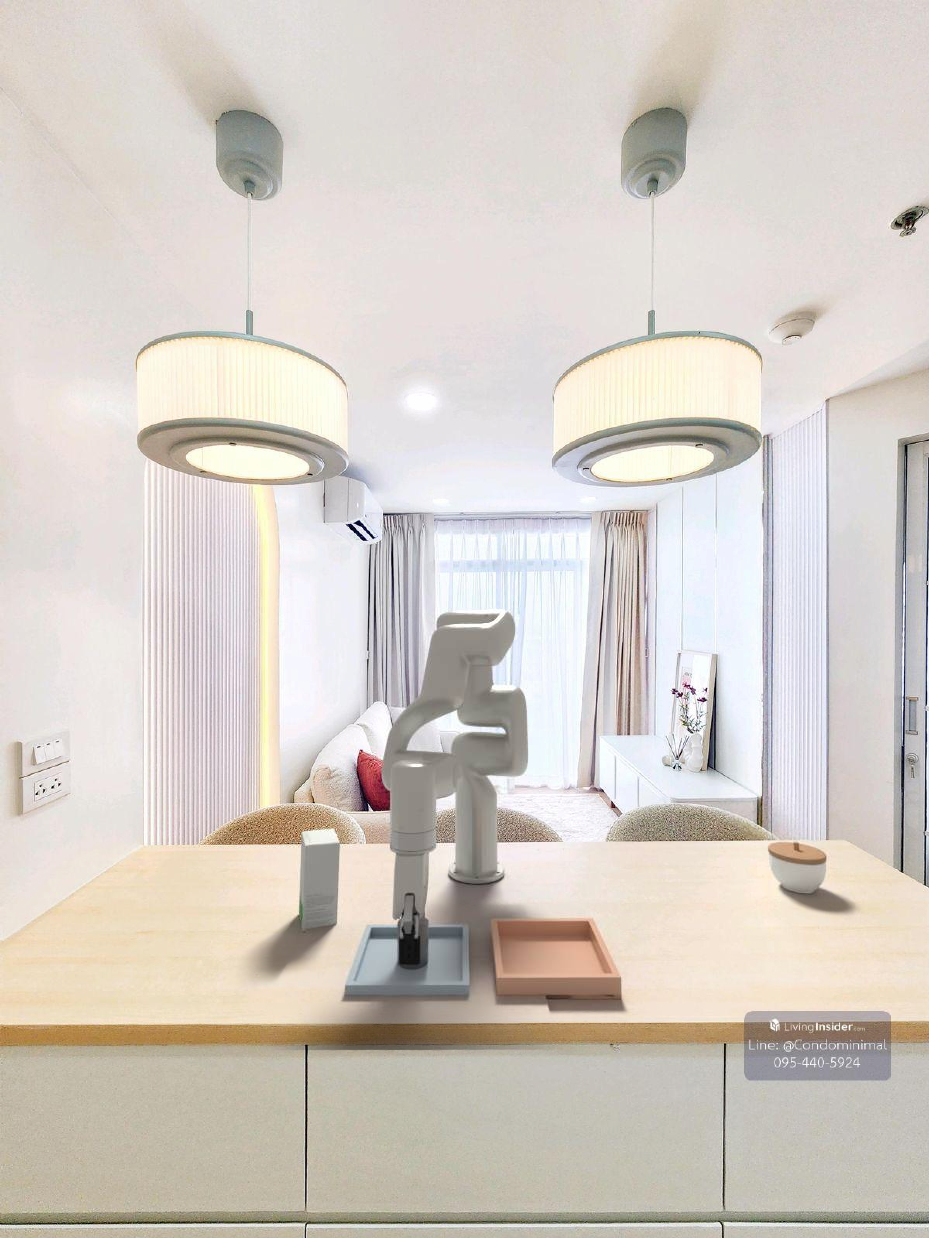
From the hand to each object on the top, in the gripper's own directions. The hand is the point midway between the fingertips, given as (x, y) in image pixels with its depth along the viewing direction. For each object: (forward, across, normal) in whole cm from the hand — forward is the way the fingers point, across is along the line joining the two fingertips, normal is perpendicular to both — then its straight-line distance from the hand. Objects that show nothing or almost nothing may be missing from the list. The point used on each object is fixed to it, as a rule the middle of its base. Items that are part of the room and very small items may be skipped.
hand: (412, 946), depth 90 cm
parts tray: (+3, 0, 0) cm, 3 cm away
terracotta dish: (+3, 0, +22) cm, 22 cm away
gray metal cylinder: (+2, 0, 0) cm, 2 cm away
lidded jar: (+3, -29, +79) cm, 84 cm away
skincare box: (+3, -15, -19) cm, 25 cm away
